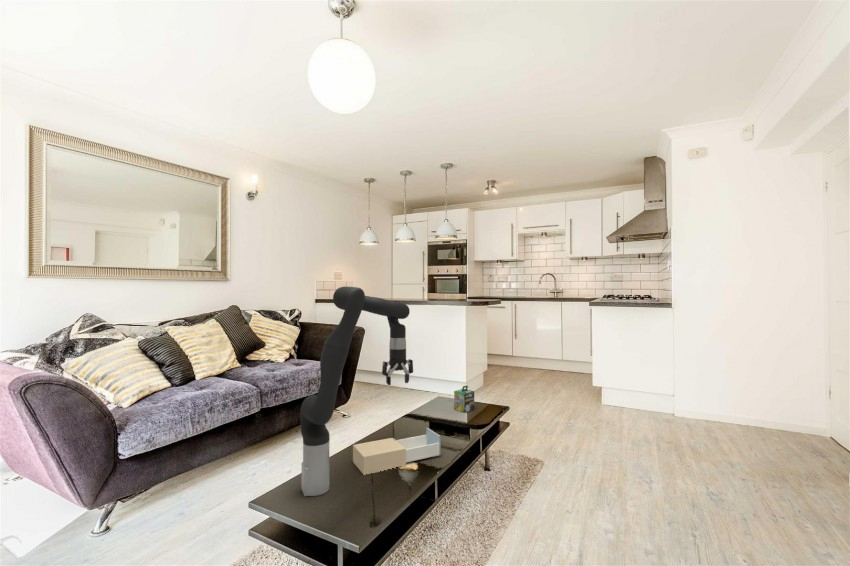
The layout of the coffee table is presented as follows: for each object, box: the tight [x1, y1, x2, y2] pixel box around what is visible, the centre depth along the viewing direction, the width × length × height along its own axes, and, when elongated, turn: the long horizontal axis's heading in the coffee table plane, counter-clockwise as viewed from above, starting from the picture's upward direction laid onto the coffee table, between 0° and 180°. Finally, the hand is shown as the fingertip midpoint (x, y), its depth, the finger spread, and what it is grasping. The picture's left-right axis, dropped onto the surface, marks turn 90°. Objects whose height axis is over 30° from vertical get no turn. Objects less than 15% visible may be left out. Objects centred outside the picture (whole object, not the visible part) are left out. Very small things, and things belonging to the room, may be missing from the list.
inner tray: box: [395, 427, 442, 463], centre depth 169 cm, size 25×12×8 cm, turn 118°
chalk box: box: [453, 384, 475, 413], centre depth 240 cm, size 9×9×15 cm
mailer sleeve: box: [352, 437, 407, 476], centre depth 163 cm, size 18×14×7 cm
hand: (397, 383), depth 177 cm, fingers open, 8 cm apart
